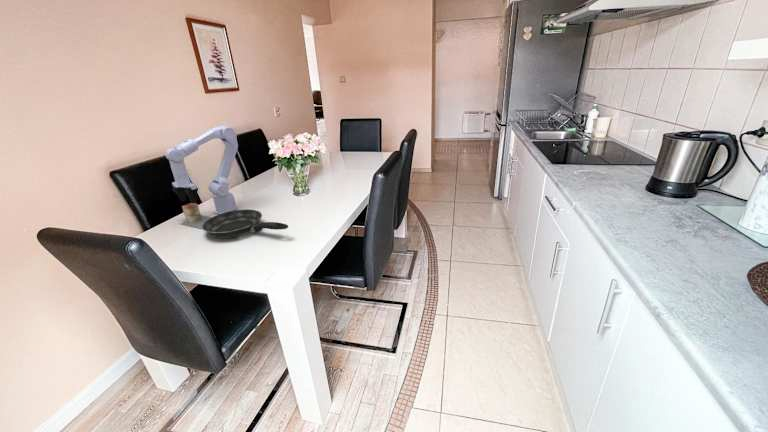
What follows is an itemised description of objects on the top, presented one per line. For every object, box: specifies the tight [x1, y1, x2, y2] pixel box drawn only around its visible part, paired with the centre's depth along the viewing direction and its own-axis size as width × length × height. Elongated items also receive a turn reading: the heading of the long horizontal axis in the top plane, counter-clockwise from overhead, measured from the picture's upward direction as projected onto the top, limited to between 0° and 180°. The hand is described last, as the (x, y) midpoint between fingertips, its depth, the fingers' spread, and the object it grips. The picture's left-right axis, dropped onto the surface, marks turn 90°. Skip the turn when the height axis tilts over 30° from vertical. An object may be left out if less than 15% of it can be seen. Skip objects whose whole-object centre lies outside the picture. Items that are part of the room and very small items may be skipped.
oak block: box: [181, 202, 202, 223], centre depth 153 cm, size 5×4×8 cm
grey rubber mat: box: [179, 214, 213, 230], centre depth 152 cm, size 11×18×1 cm, turn 64°
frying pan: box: [201, 208, 289, 239], centre depth 139 cm, size 44×25×7 cm, turn 65°
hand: (189, 201), depth 151 cm, fingers open, 7 cm apart
